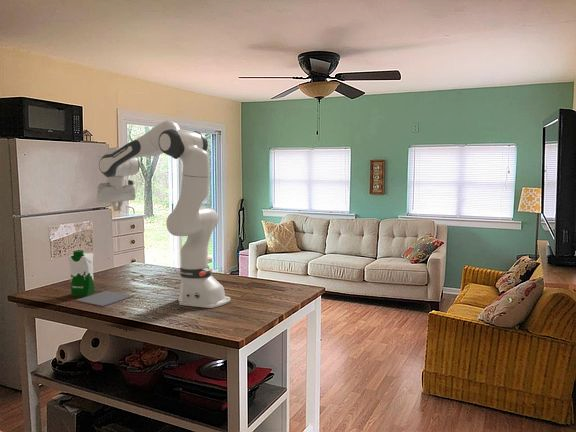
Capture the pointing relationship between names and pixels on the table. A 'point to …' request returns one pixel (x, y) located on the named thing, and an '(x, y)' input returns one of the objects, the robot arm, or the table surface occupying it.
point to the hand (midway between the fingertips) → (117, 211)
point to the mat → (104, 298)
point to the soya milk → (81, 273)
